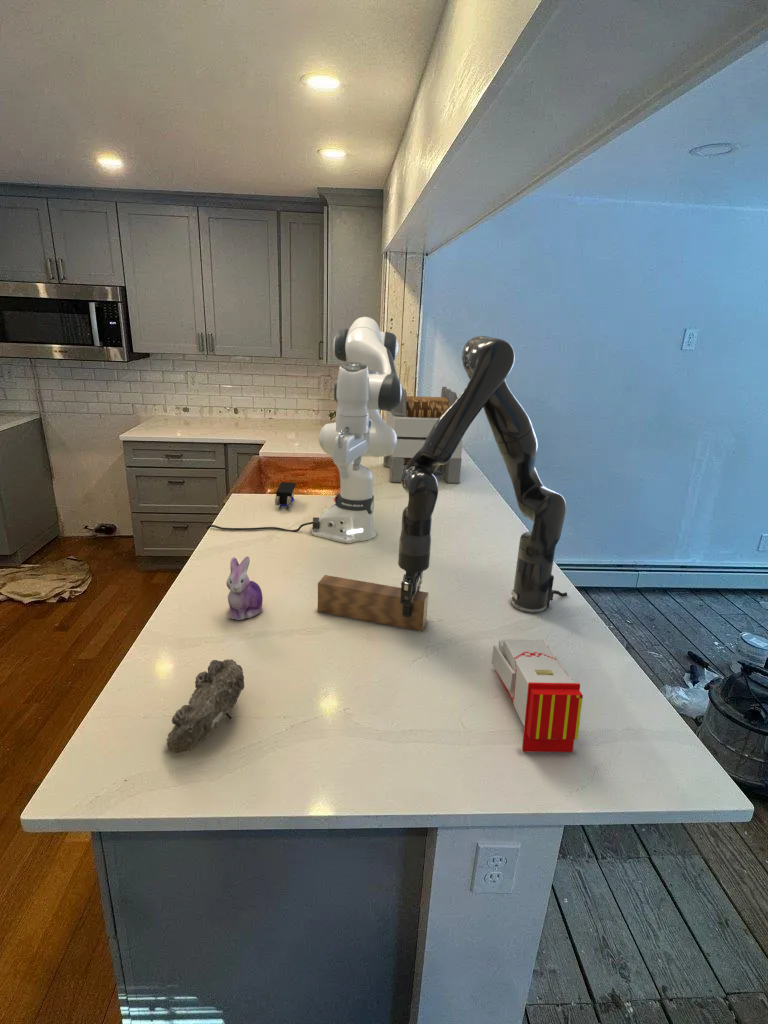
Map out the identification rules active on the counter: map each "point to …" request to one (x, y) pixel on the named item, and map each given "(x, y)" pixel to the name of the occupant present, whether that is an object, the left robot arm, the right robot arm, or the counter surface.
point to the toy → (539, 694)
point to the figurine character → (285, 494)
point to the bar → (370, 602)
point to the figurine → (243, 592)
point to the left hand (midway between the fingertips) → (350, 474)
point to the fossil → (206, 705)
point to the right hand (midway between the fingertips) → (410, 608)
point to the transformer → (419, 432)
